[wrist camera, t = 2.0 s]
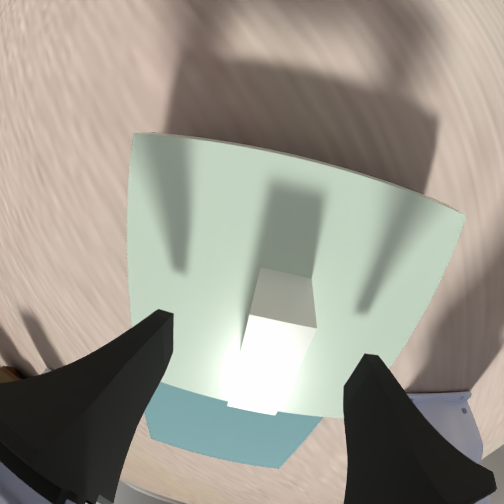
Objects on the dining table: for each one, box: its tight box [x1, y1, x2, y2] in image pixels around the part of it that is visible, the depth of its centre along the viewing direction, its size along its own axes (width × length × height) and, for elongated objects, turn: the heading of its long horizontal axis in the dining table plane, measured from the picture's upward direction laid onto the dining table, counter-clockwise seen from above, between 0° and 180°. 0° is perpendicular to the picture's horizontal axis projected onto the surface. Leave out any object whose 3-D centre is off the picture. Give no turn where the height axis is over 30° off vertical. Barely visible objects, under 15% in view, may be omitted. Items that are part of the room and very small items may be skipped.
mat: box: [144, 382, 323, 469], centre depth 22 cm, size 16×16×1 cm
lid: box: [127, 132, 466, 418], centre depth 11 cm, size 13×13×5 cm
